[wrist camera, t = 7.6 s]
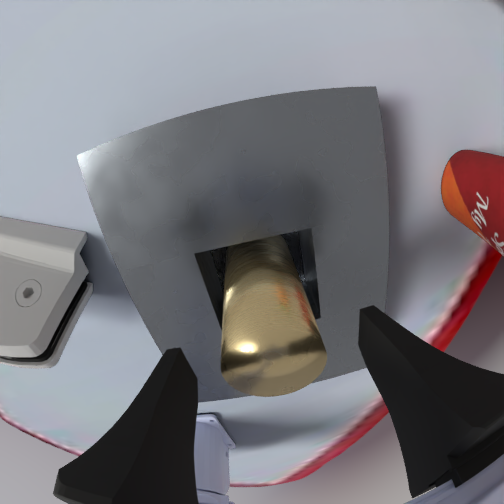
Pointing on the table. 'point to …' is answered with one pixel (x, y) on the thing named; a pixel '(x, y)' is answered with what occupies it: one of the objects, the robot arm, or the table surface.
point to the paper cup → (476, 194)
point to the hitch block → (248, 215)
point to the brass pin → (267, 322)
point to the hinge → (39, 291)
